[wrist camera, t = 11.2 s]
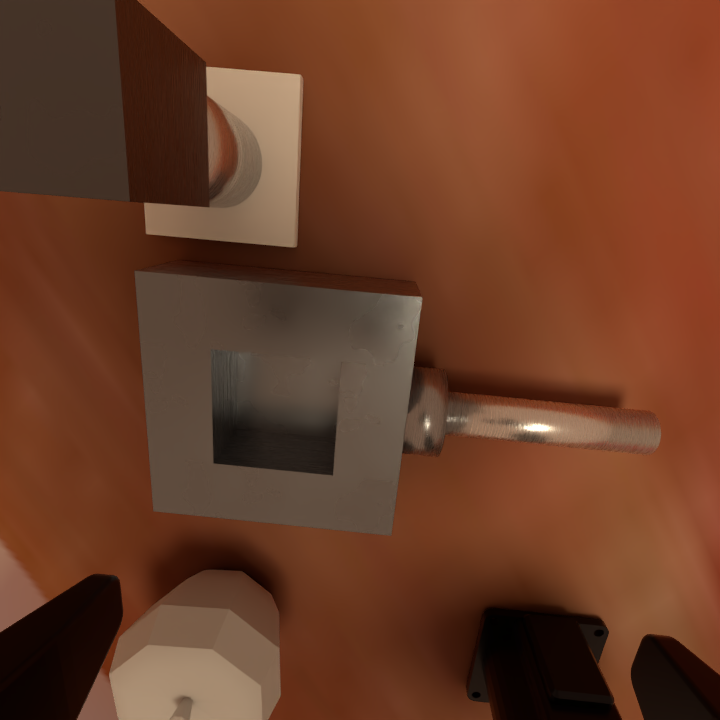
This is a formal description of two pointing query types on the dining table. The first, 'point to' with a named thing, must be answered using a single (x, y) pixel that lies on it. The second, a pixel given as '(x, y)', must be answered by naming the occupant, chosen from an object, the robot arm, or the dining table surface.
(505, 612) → the robot arm
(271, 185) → the pad
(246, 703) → the apple
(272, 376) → the block
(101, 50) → the dark square post
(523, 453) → the dining table surface
